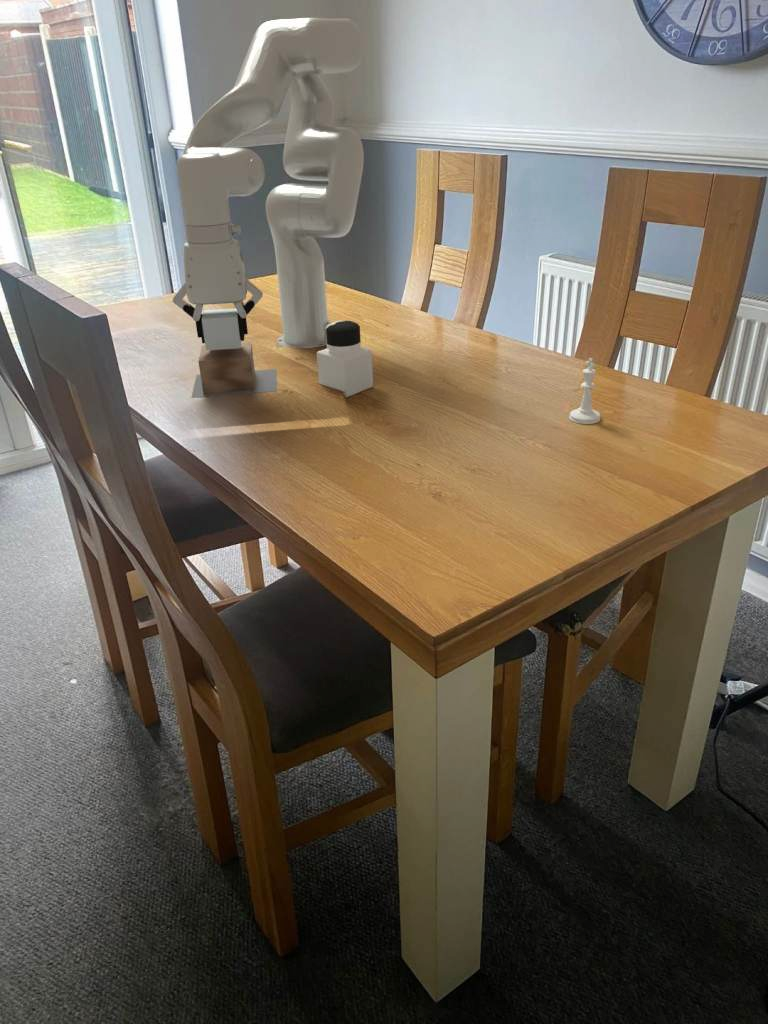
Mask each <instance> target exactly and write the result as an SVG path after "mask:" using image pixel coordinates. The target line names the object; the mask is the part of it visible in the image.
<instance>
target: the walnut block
mask: <svg viewBox="0 0 768 1024" xmlns="http://www.w3.org/2000/svg"><path fill="white" fill-rule="evenodd" d="M252 345H253V344H252V341H250V342H249V341H248V342H241V348H236V349H221V350H206V347H205V344H204V345H201V349H200V353H199V357H198V367H199V368H198V369H199V375H201V382H202V388H203V394H207V393H220V392H233V391H246V390H254V387H255V361H254V352H253V346H252Z"/></svg>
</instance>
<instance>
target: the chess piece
mask: <svg viewBox="0 0 768 1024" xmlns="http://www.w3.org/2000/svg"><path fill="white" fill-rule="evenodd" d="M593 360H594V359H593V358H591V357H590V358H588V360H586V361H585V365H586V366H587V368H585V369H583V370H582V375H583V379H584V382H582V383H581V385H580V386H581V388H583V389H584V390H583V395H582V400H581V404H580V406H579V407H578V408H576V409H573V410H571V411H570V413H569V416H568V417H569V420H570V421H572V422H573V423H576V424H582V425H592V424H593V425H594V424H596V423H598V422H600V421H601V414H600V412H599V411H598V410H595V409H594V408H593V407H592V394H591V393H592V390H591V389H594V388H595V383H593V380H594V377H595V376H596V372H597V371H596V370H595V369H594V368H595V366H596V363H594V362H593Z"/></svg>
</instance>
